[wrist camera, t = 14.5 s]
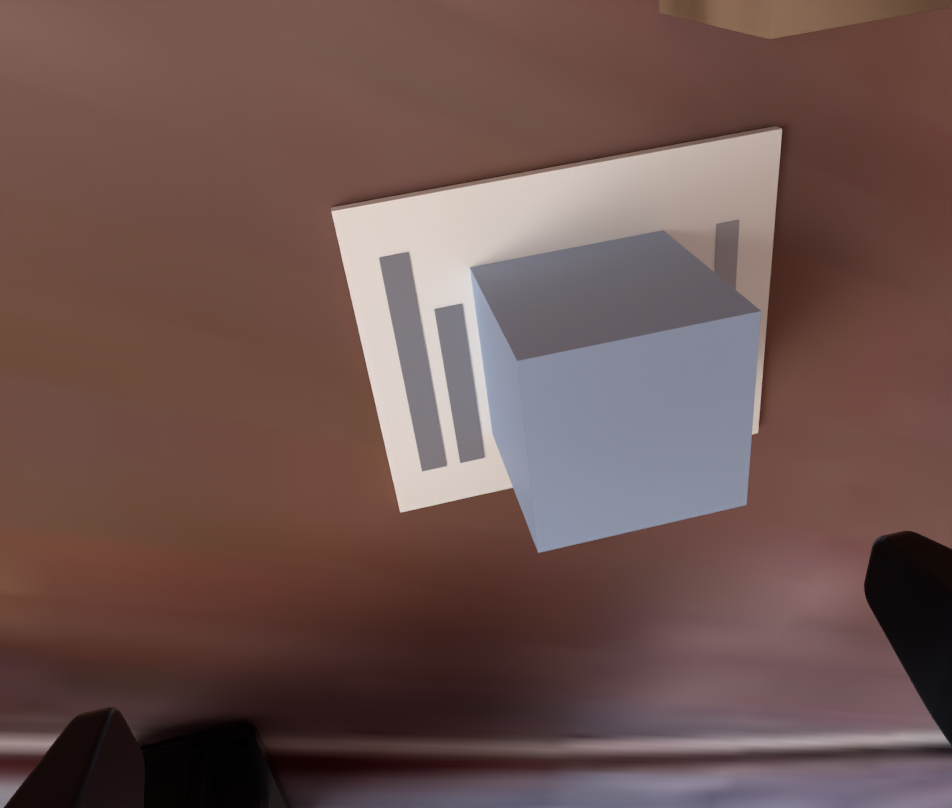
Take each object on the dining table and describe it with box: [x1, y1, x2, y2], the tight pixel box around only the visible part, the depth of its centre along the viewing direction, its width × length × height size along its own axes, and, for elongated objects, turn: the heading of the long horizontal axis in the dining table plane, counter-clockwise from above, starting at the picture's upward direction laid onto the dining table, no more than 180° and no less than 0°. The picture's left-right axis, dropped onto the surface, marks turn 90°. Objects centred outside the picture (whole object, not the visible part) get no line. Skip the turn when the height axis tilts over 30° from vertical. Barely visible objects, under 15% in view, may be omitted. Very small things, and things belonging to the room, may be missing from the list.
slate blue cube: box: [470, 230, 761, 553], centre depth 19 cm, size 5×5×5 cm
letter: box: [331, 126, 782, 513], centre depth 21 cm, size 9×11×1 cm
